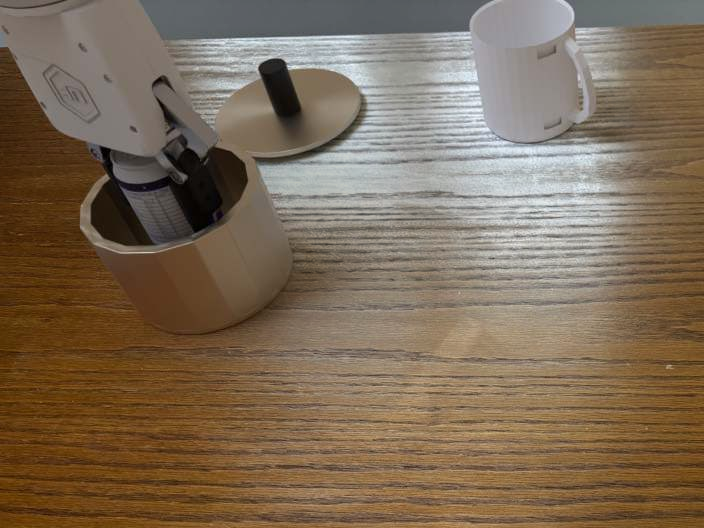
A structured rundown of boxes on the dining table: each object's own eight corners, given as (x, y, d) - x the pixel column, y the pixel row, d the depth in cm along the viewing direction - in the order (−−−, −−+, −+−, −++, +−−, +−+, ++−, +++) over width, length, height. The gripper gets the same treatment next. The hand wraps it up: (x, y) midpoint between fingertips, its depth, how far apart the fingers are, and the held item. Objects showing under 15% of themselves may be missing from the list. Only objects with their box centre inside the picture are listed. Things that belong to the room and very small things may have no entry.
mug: (465, 116, 80) (448, 21, 73) (539, 77, 83) (530, -18, 76) (544, 171, 74) (534, 74, 67) (621, 127, 77) (619, 29, 70)
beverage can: (254, 275, 68) (193, 150, 59) (187, 304, 67) (113, 181, 57) (233, 237, 71) (172, 113, 62) (168, 264, 70) (96, 141, 61)
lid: (189, 145, 81) (163, 93, 77) (277, 68, 89) (259, 16, 84) (306, 176, 77) (286, 123, 72) (389, 92, 84) (376, 38, 80)
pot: (99, 308, 68) (41, 226, 62) (205, 208, 75) (163, 125, 68) (224, 354, 64) (176, 272, 57) (324, 243, 71) (292, 159, 64)
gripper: (-103, -29, 50) (59, 210, 65) (103, 15, 45) (231, 266, 59) (-6, -83, 54) (127, 153, 69) (196, -49, 49) (295, 201, 63)
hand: (174, 203), depth 64 cm, fingers closed on beverage can, 5 cm apart
